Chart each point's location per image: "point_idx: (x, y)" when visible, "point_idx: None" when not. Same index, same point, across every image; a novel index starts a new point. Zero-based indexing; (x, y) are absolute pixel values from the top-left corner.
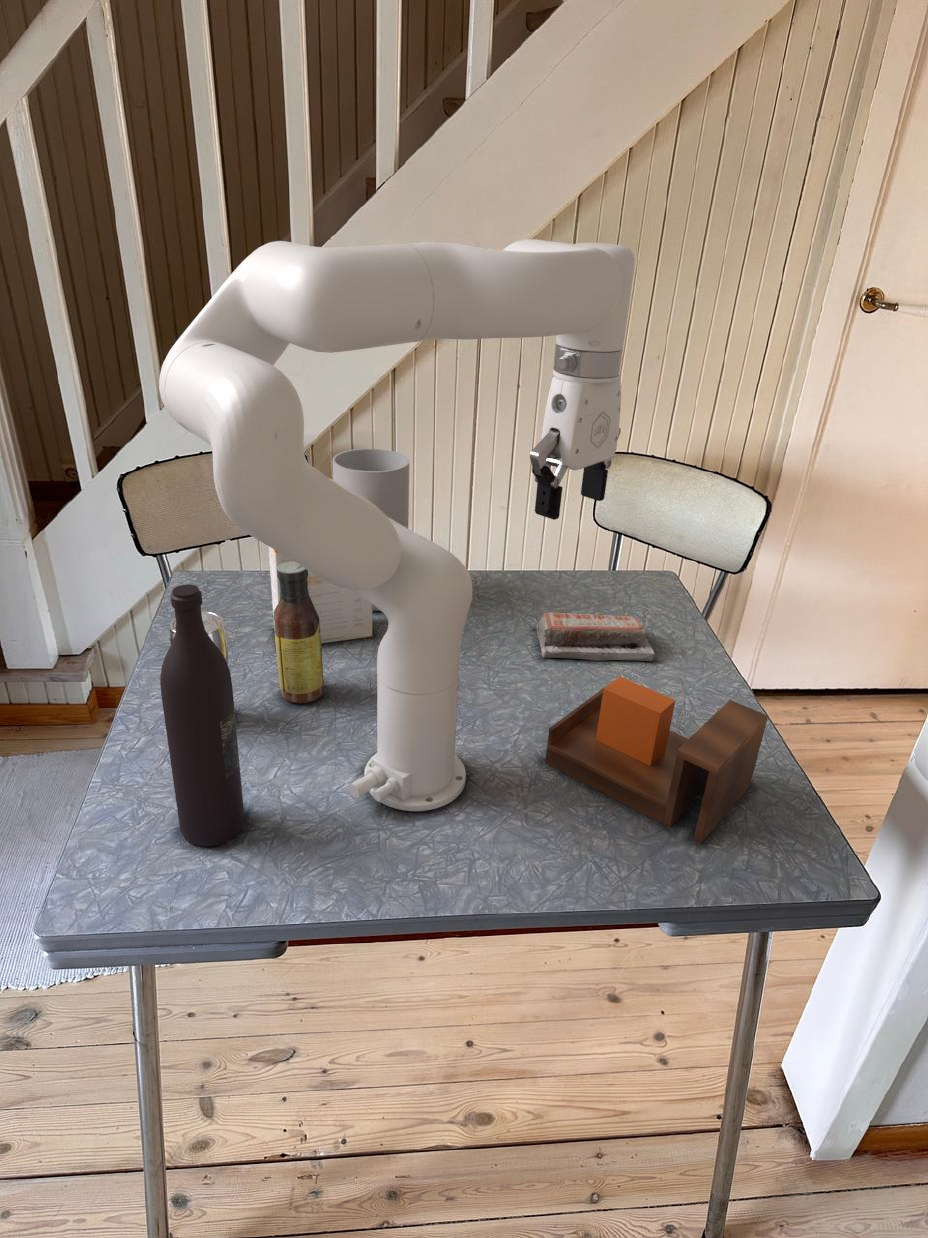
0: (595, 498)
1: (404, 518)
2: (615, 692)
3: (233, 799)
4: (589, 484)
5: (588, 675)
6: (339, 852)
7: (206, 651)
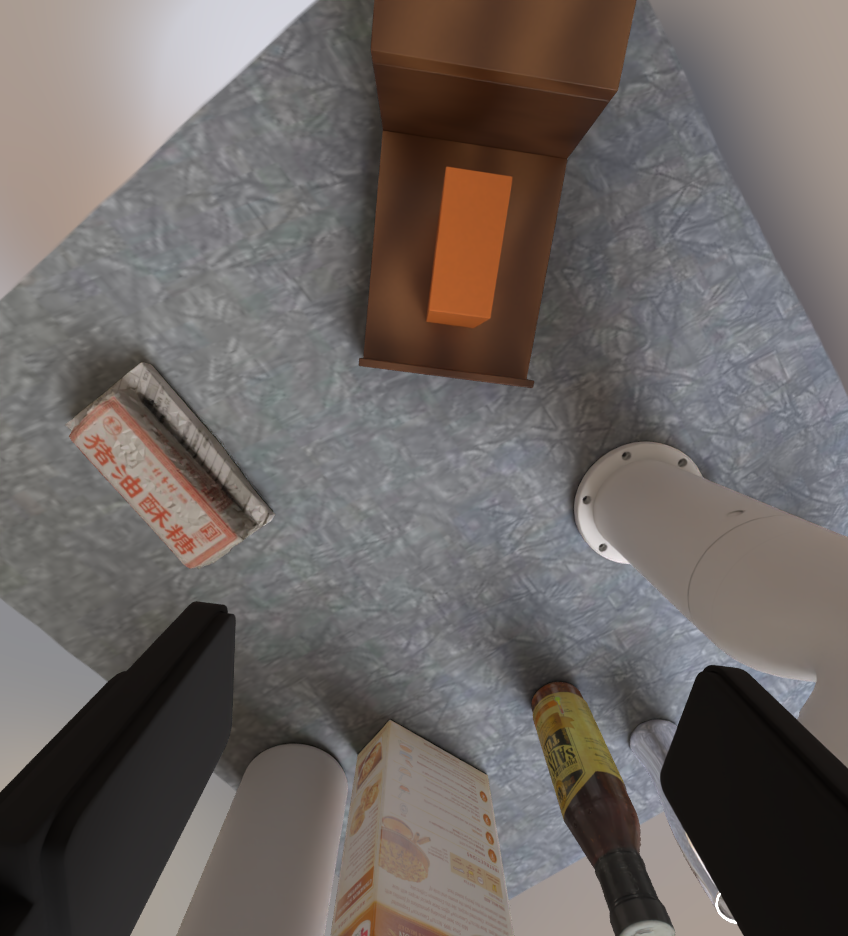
0: (230, 645)
1: (221, 920)
2: (492, 291)
3: None
4: (184, 772)
5: (269, 435)
6: (785, 496)
7: None
